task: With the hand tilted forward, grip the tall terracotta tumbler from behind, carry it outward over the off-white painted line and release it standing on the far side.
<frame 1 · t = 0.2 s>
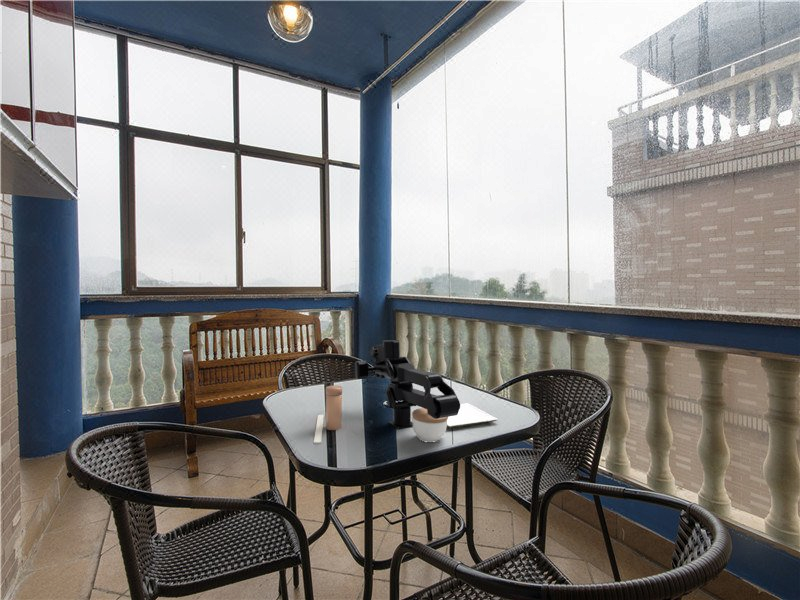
hand: (370, 366, 153), 15 cm above the table, tool horizontal, fingers open, 9 cm apart
line: (319, 428, 126), on the table
tumbler: (333, 427, 127), on the table
plate: (459, 419, 138), on the table
lidded jar: (428, 439, 119), on the table, touching arm
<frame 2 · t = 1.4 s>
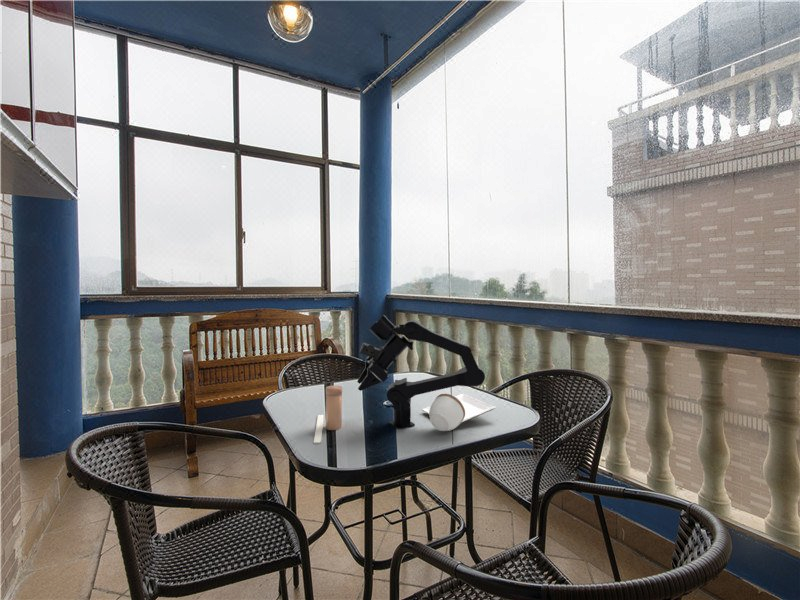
hand: (358, 386, 128), 13 cm above the table, tool tilted 45°, fingers open, 9 cm apart
plate: (458, 414, 138), point 1 cm above the table, touching lidded jar
lidded jar: (438, 422, 120), point 4 cm above the table, touching arm, plate
everything else where it was.
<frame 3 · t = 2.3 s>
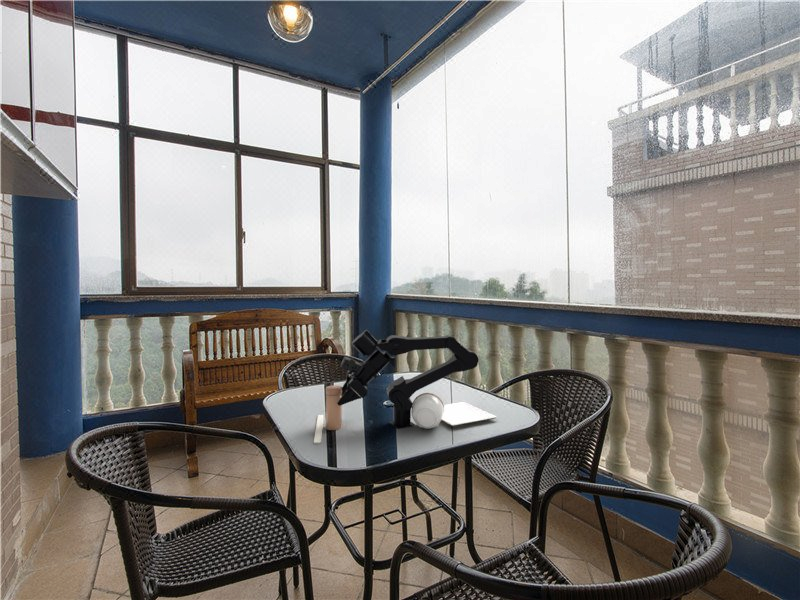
hand: (338, 400, 127), 9 cm above the table, tool tilted 45°, fingers open, 9 cm apart
plate: (458, 418, 139), on the table
lidded jar: (426, 417, 123), point 5 cm above the table, touching arm
everything else where it was.
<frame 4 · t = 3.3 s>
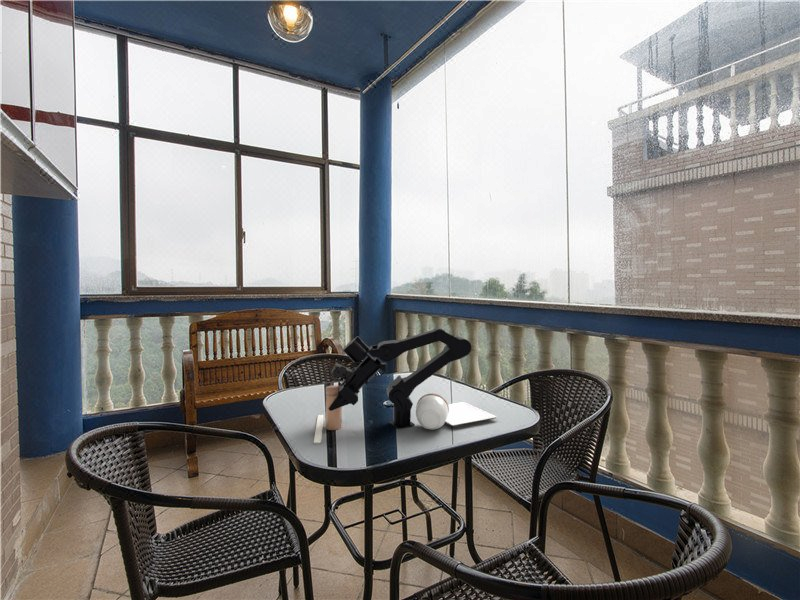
hand: (329, 407, 127), 7 cm above the table, tool tilted 45°, fingers closed on tumbler, 5 cm apart
tumbler: (333, 427, 127), on the table, touching gripper
lidded jar: (430, 419, 122), point 5 cm above the table
everything else where it was.
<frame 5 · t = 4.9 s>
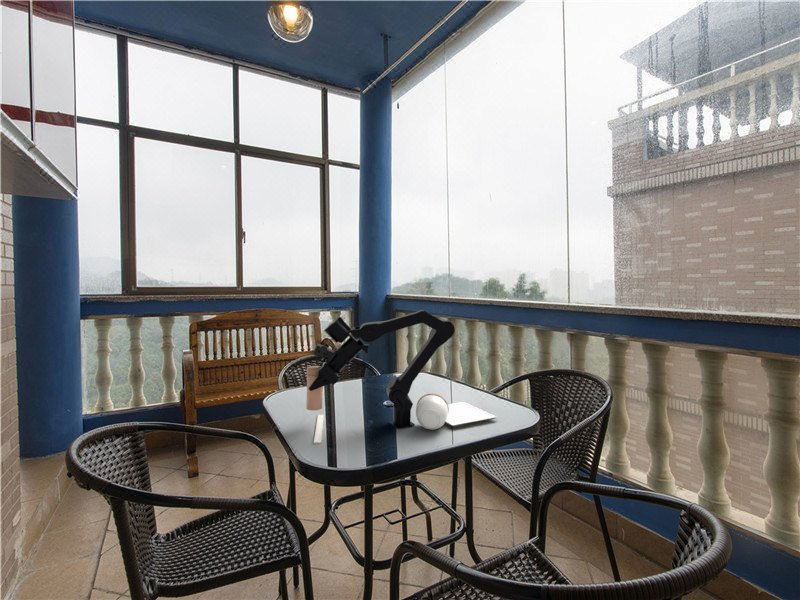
hand: (310, 387, 126), 13 cm above the table, tool tilted 45°, fingers closed on tumbler, 5 cm apart
tumbler: (314, 407, 126), point 7 cm above the table, touching gripper
everything else where it was.
when the fingers open (7 cm above the table, at t = 6.5 s): tumbler stays where it is, on the table.
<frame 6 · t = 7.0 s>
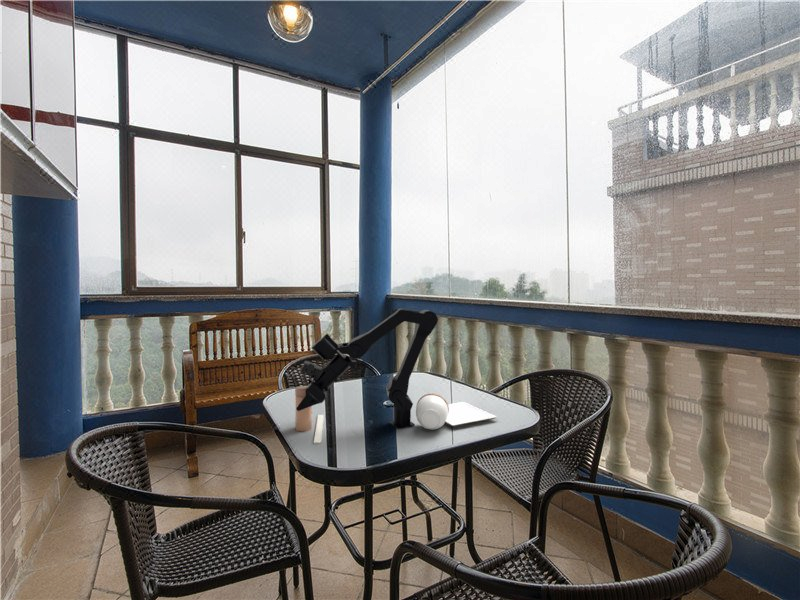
hand: (298, 405, 125), 8 cm above the table, tool tilted 45°, fingers open, 9 cm apart
tumbler: (303, 428, 126), on the table
everything else where it was.
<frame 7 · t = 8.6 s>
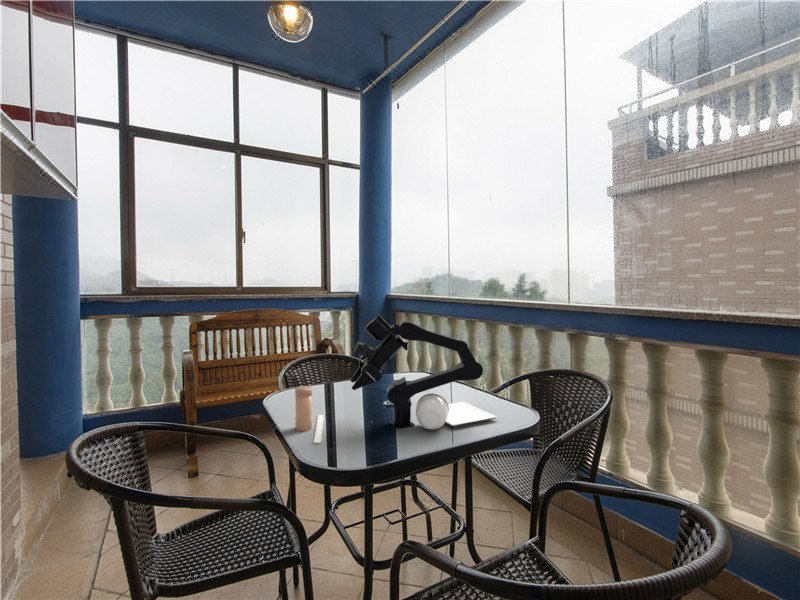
hand: (352, 385, 128), 13 cm above the table, tool tilted 45°, fingers open, 9 cm apart
nothing on the table moved.
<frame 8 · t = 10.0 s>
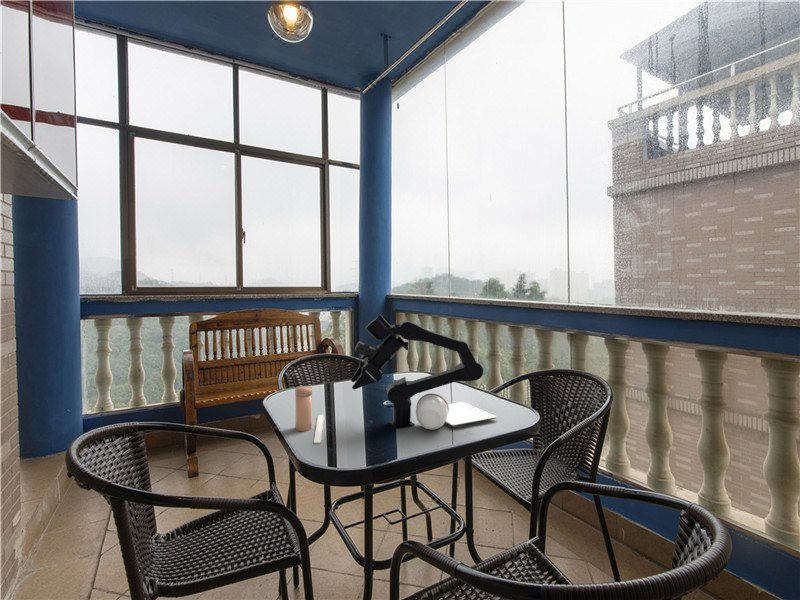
hand: (352, 384, 128), 14 cm above the table, tool tilted 45°, fingers open, 9 cm apart
nothing on the table moved.
at the end: tumbler inside the target area (3.6 cm from its centre), on the table; tumbler tilted 0°; the gripper is holding nothing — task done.
